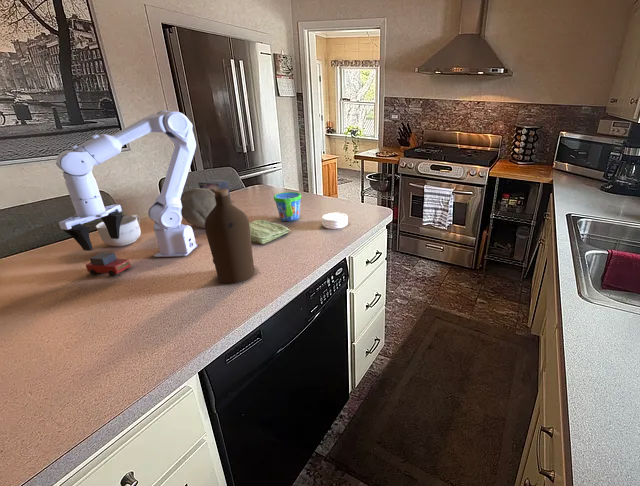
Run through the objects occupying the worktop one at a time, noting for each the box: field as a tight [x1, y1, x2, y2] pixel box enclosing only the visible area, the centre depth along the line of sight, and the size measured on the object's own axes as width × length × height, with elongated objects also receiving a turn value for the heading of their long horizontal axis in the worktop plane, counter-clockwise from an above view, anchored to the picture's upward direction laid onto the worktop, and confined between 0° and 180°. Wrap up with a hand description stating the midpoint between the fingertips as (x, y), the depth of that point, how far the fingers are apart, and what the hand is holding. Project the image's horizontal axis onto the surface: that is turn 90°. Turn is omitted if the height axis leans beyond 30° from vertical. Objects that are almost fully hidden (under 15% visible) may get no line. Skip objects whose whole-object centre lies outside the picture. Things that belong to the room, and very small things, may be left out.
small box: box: [198, 178, 232, 203], centre depth 151 cm, size 11×6×10 cm, turn 80°
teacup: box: [95, 214, 142, 247], centre depth 111 cm, size 14×11×8 cm
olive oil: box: [204, 188, 255, 284], centre depth 88 cm, size 11×11×25 cm
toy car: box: [85, 251, 132, 277], centre depth 92 cm, size 9×5×5 cm, turn 84°
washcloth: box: [249, 219, 290, 245], centre depth 118 cm, size 13×18×3 cm
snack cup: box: [273, 191, 302, 222], centre depth 133 cm, size 16×10×10 cm
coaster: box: [321, 211, 349, 230], centre depth 129 cm, size 10×10×4 cm
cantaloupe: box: [180, 187, 216, 229], centre depth 123 cm, size 14×14×15 cm
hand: (102, 243), depth 90 cm, fingers open, 7 cm apart
